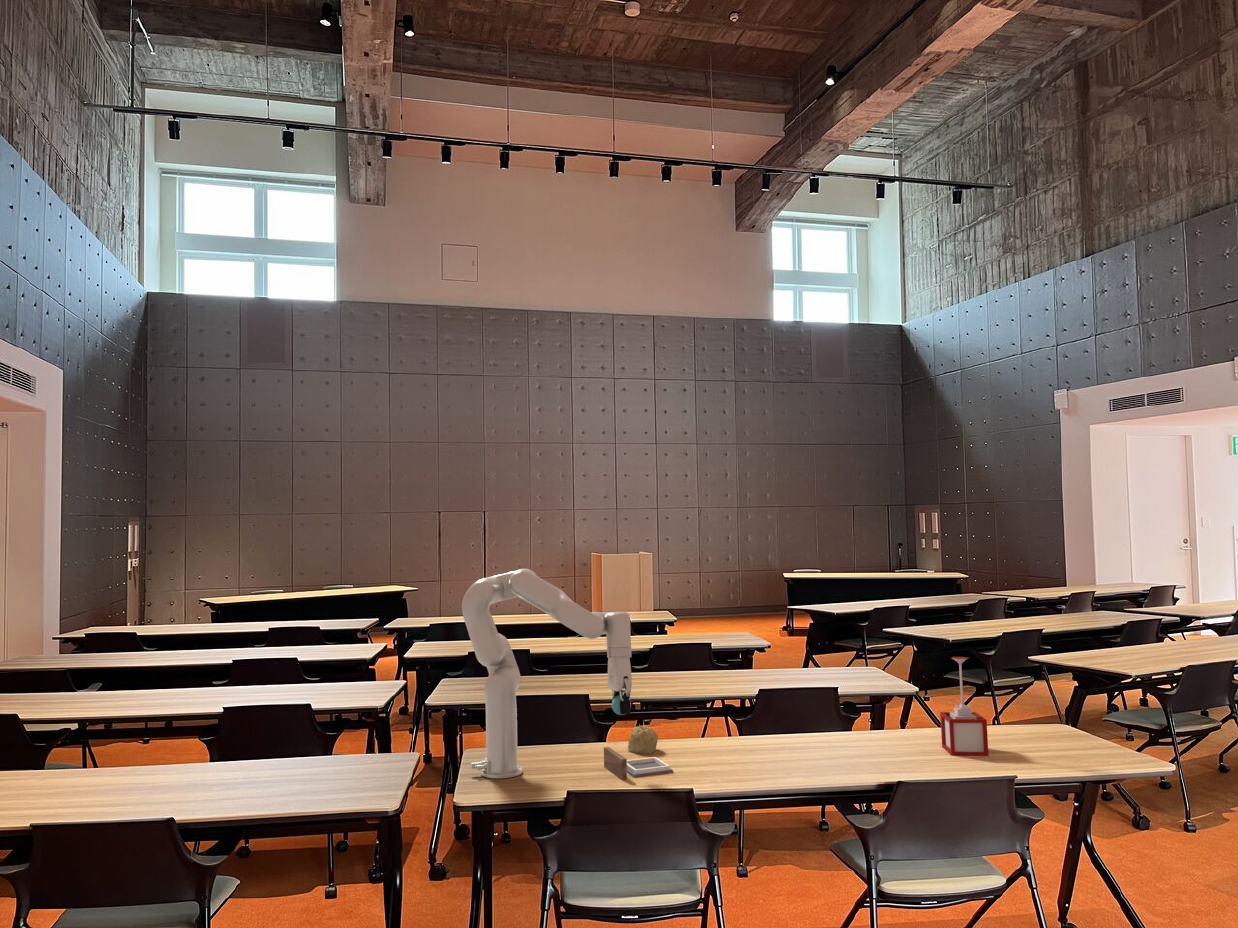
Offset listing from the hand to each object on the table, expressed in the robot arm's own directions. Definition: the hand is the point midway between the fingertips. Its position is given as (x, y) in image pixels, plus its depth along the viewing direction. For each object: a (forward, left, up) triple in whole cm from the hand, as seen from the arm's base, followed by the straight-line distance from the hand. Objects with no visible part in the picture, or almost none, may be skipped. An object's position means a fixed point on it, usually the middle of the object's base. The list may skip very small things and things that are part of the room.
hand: (621, 711), depth 260 cm
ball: (0, 0, +2) cm, 2 cm away
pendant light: (+111, -23, -19) cm, 114 cm away
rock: (+16, +22, -19) cm, 33 cm away
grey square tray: (+8, 0, -18) cm, 20 cm away
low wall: (-2, 0, -18) cm, 18 cm away
